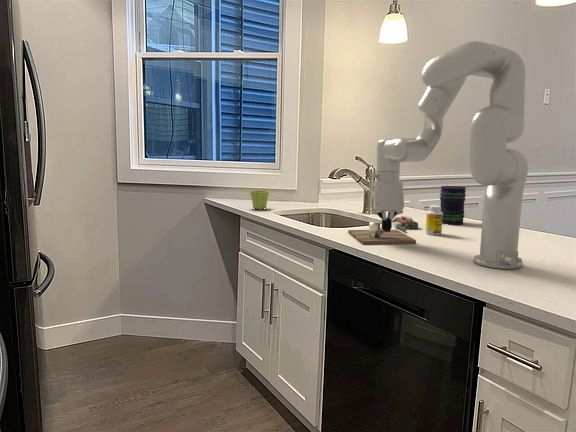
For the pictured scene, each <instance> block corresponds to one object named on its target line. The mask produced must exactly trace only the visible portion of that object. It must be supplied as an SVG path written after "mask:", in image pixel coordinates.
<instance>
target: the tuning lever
mask: <svg viewBox="0 0 576 432" xmlns="http://www.w3.org/2000/svg"><path fill="white" fill-rule="evenodd" d="M368 227H369V228H368V230H369V236H371V237H373V238H374V237H378V236H380V232H382V231H383V229H382V227H381V222H378V221H369V224H368Z"/></svg>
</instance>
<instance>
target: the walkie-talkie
mask: <svg viewBox="0 0 576 432" xmlns="http://www.w3.org/2000/svg"><path fill="white" fill-rule="evenodd" d="M392 224H393V226H392V228H394V229H395V230H401V231H403V232H407V230H418V229H419V222H417V221H415V220H414V219H413V217H410V216H407V215H400V217H397V216H395V217H394V218H393V220H392Z"/></svg>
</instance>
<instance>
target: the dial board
mask: <svg viewBox="0 0 576 432" xmlns="http://www.w3.org/2000/svg"><path fill="white" fill-rule="evenodd" d="M348 233H349V234H348ZM347 234H348V235H349V236H351V237H352V238H354V239H355V240H356V241H357V242H359V243H360V244H361V245H362V246H363V245H416V243H417V240H416V239H415V238H413V237H411V236H409V235H407V234H405V233H404V232H402V231H400V230H399V229H390V232H385V231H382V232H380V236H378V237H374V238H373V237H371V236H369V229H348V230H347Z"/></svg>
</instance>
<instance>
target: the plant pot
mask: <svg viewBox="0 0 576 432" xmlns="http://www.w3.org/2000/svg"><path fill="white" fill-rule="evenodd" d="M270 192H271V191H269V190H263V189H262V190H259V189H258V190H257V189H256V190H250V191H249V193H250V196H251V202H252V209H253V208H256V209H255V210H257V209H264V208H266V209H267V204H268V197H269V194H270ZM264 210H265V209H264Z"/></svg>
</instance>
